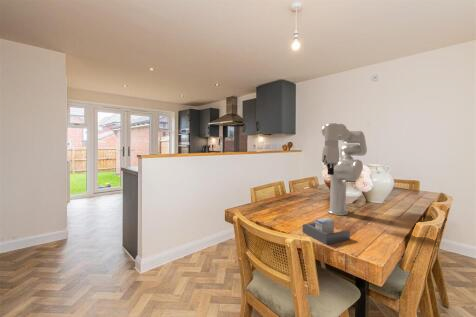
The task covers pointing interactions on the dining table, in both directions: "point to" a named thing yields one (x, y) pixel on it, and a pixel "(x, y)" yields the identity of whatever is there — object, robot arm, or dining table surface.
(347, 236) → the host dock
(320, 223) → the medicine box
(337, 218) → the dining table surface
